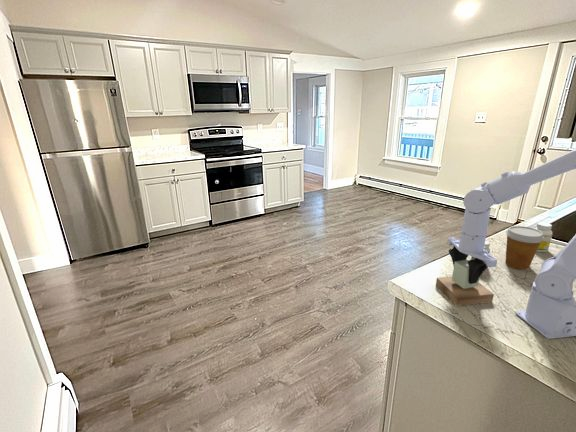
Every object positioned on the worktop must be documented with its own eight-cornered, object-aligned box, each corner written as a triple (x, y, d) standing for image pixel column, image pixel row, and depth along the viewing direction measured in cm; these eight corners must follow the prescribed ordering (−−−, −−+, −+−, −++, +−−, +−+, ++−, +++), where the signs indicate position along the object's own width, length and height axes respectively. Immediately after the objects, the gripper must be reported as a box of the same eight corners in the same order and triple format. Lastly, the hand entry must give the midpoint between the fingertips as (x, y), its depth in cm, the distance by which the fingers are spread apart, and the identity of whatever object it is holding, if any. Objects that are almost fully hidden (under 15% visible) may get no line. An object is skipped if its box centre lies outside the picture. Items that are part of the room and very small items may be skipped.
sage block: (477, 286, 83) (481, 266, 81) (463, 288, 82) (467, 269, 80) (465, 277, 87) (468, 259, 85) (451, 280, 86) (454, 261, 84)
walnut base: (492, 302, 81) (493, 294, 81) (456, 305, 81) (458, 297, 80) (467, 282, 91) (468, 274, 90) (435, 285, 90) (436, 277, 89)
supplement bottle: (549, 253, 106) (556, 228, 102) (530, 250, 108) (536, 225, 105) (545, 247, 110) (552, 222, 107) (527, 245, 112) (533, 220, 109)
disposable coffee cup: (541, 267, 97) (550, 232, 93) (525, 275, 93) (535, 239, 89) (509, 255, 105) (516, 223, 101) (493, 262, 101) (500, 229, 97)
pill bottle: (489, 269, 97) (494, 245, 95) (472, 268, 98) (477, 244, 96) (483, 262, 102) (487, 239, 99) (467, 261, 103) (472, 238, 100)
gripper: (511, 241, 74) (500, 289, 78) (464, 221, 87) (457, 263, 91) (487, 245, 72) (477, 294, 77) (443, 224, 85) (437, 267, 90)
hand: (465, 278), depth 84 cm, fingers closed on sage block, 4 cm apart
